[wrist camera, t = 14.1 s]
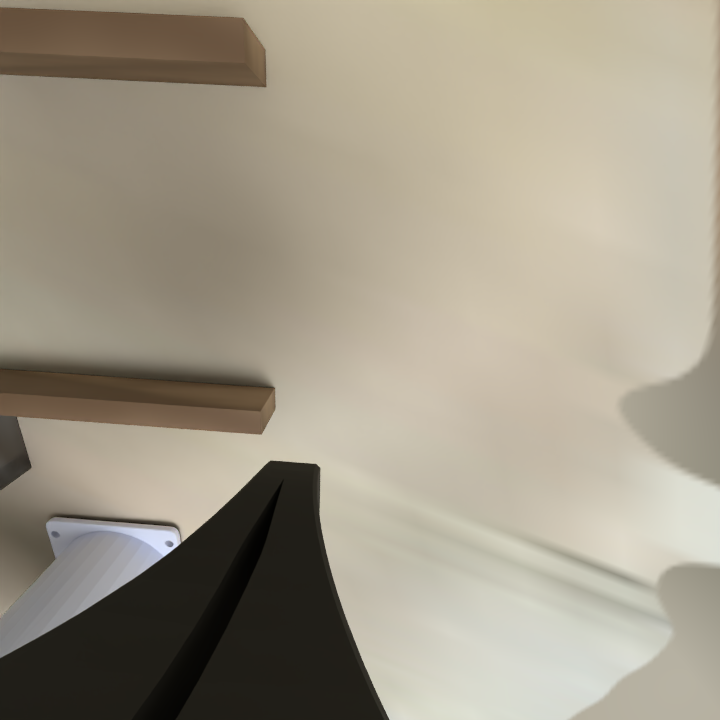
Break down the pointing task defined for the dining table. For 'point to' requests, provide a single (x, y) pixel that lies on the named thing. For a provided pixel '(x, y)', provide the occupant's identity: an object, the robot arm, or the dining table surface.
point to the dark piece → (137, 63)
